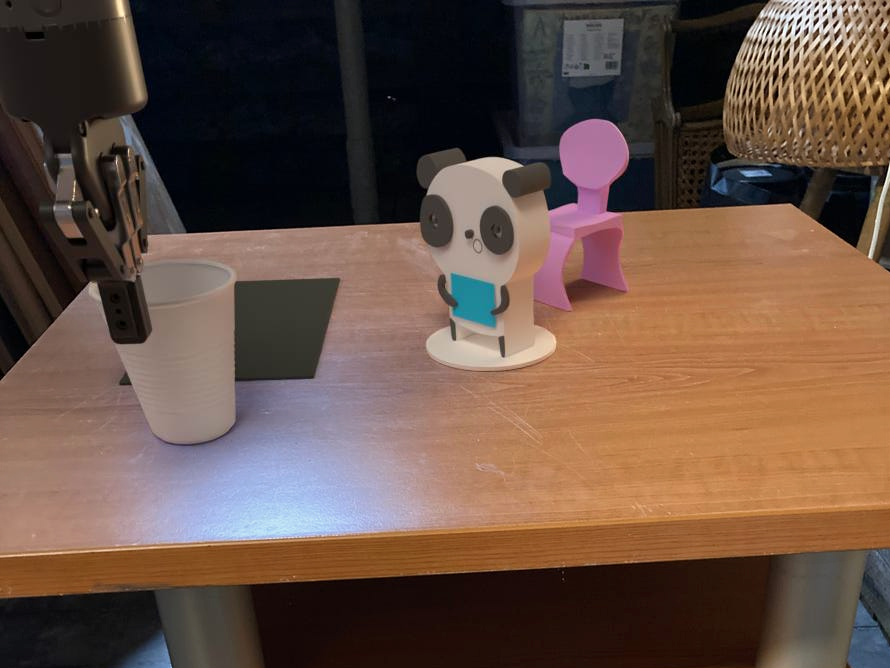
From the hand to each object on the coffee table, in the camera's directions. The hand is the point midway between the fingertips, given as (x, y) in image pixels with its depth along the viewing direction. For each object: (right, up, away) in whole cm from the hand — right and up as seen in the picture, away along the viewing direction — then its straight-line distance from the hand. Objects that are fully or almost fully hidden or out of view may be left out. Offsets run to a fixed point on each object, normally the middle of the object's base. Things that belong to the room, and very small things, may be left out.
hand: (133, 339), depth 62 cm
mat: (-1, +10, +31) cm, 33 cm away
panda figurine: (+22, +7, +25) cm, 35 cm away
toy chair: (+31, +15, +36) cm, 49 cm away
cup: (0, -3, +13) cm, 14 cm away
